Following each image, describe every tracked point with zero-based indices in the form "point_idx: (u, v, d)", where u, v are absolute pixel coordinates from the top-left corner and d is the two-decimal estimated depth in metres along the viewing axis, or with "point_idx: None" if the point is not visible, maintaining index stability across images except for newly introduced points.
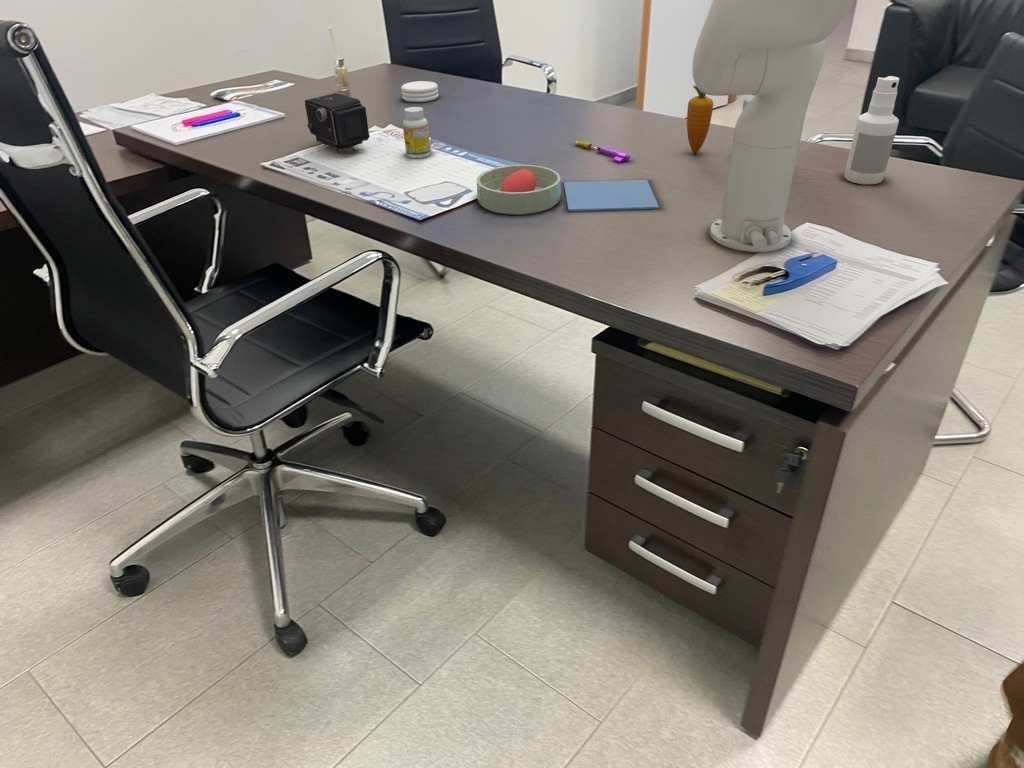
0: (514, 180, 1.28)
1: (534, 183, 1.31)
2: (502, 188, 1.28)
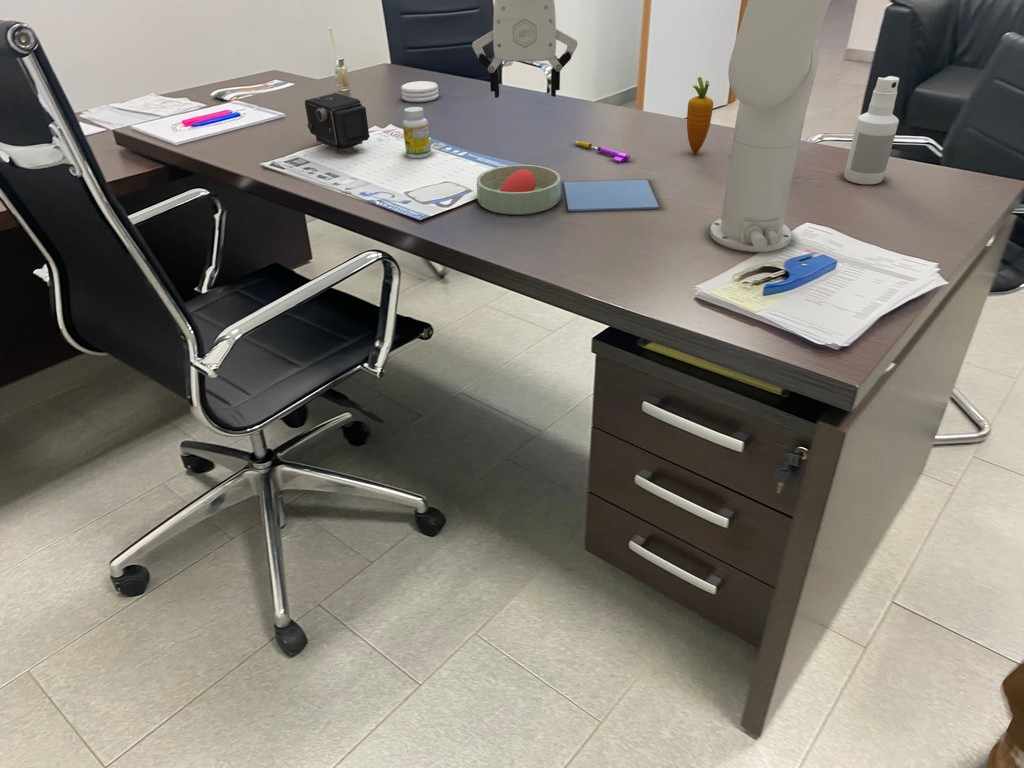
0: (514, 180, 1.28)
1: (534, 183, 1.31)
2: (502, 188, 1.28)
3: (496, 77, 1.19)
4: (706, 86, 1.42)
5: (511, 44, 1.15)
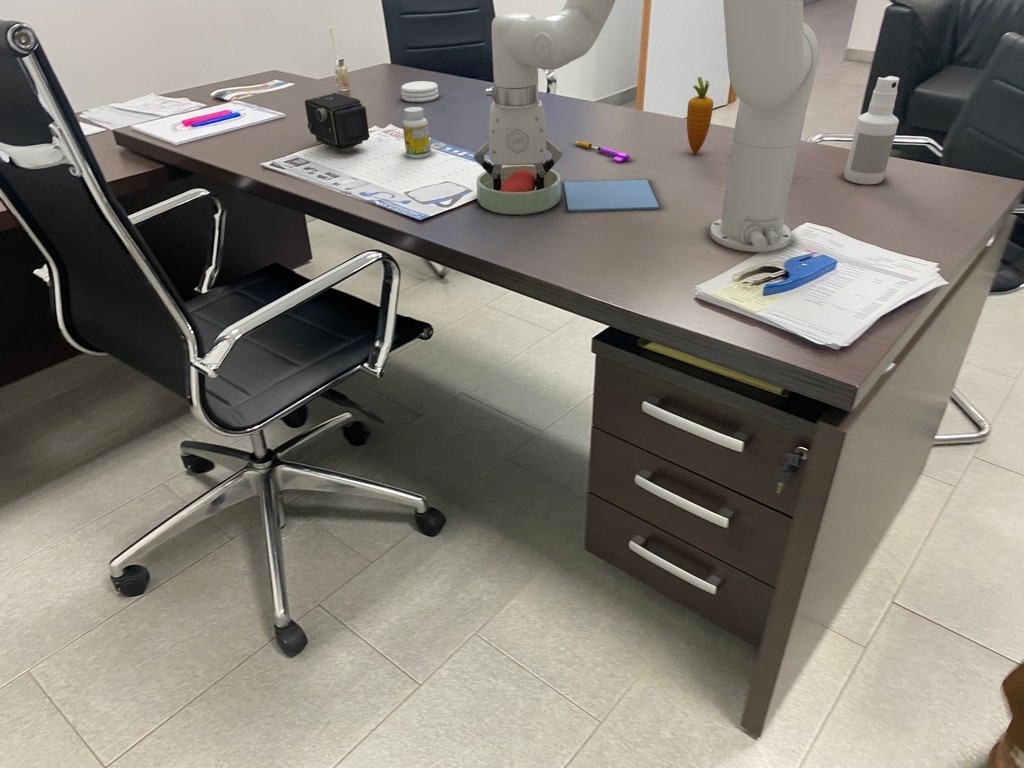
0: (514, 180, 1.28)
1: (534, 183, 1.31)
2: (502, 188, 1.28)
3: (499, 182, 1.29)
4: (706, 86, 1.42)
5: (505, 151, 1.25)
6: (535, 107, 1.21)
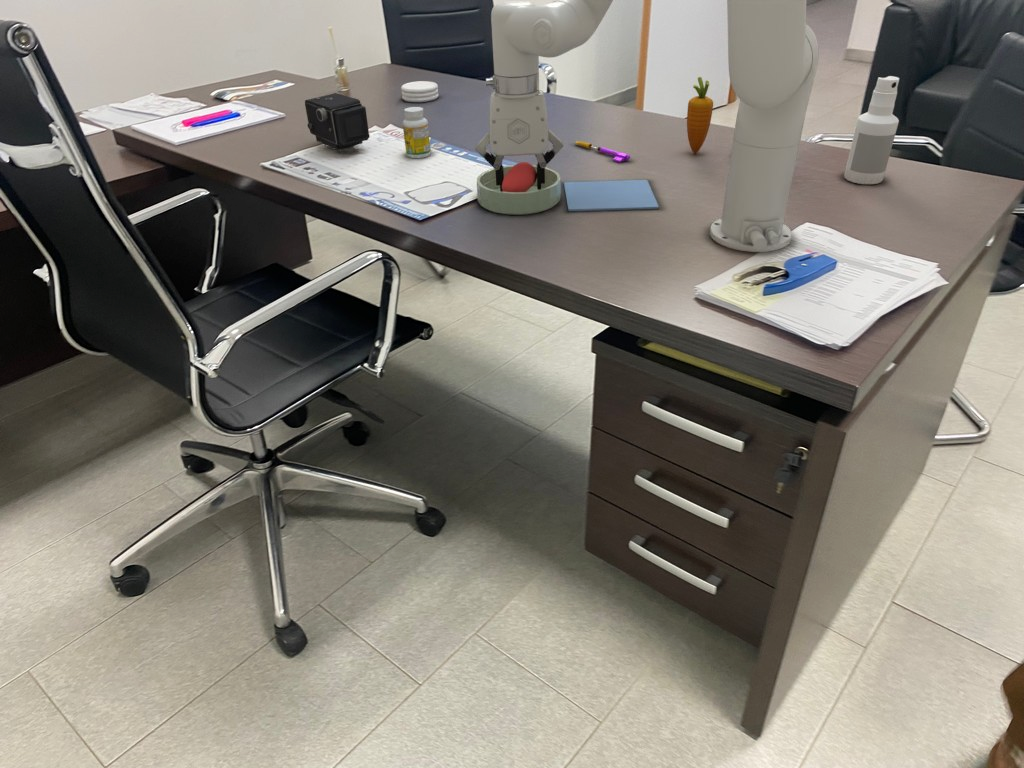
0: (516, 173, 1.27)
1: (535, 175, 1.30)
2: (504, 182, 1.27)
3: (501, 174, 1.28)
4: (706, 86, 1.42)
5: (506, 141, 1.24)
6: (536, 96, 1.20)
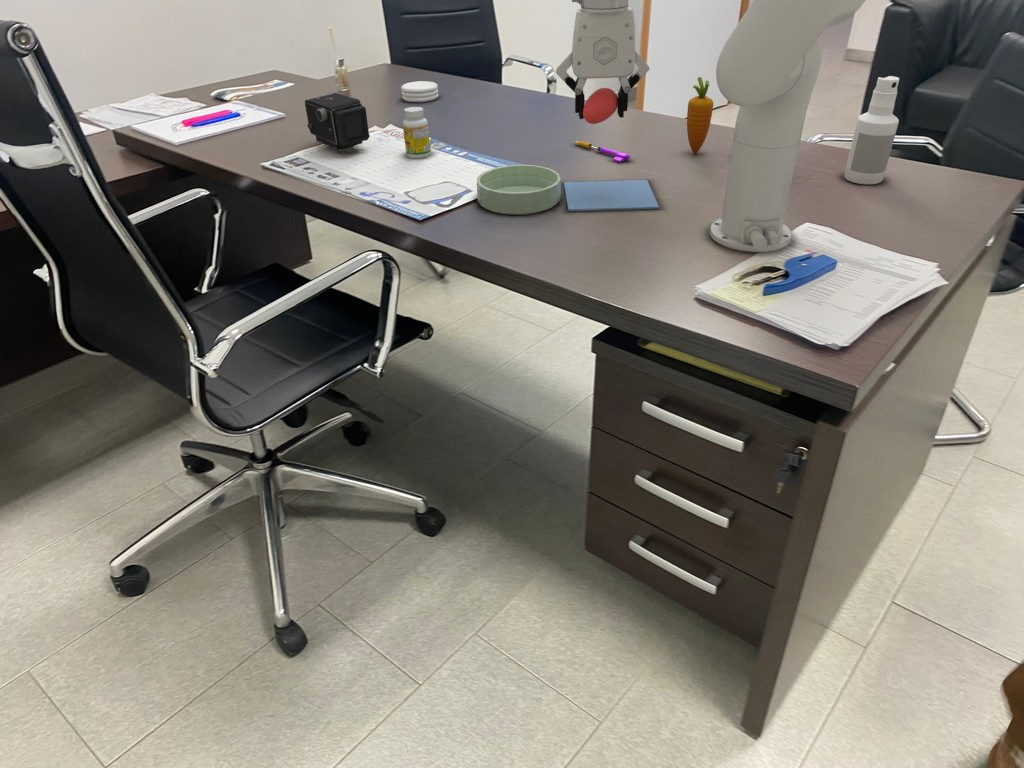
0: (599, 98, 1.20)
1: (617, 101, 1.23)
2: (587, 107, 1.20)
3: (582, 99, 1.21)
4: (706, 86, 1.42)
5: (591, 61, 1.17)
6: (626, 11, 1.13)
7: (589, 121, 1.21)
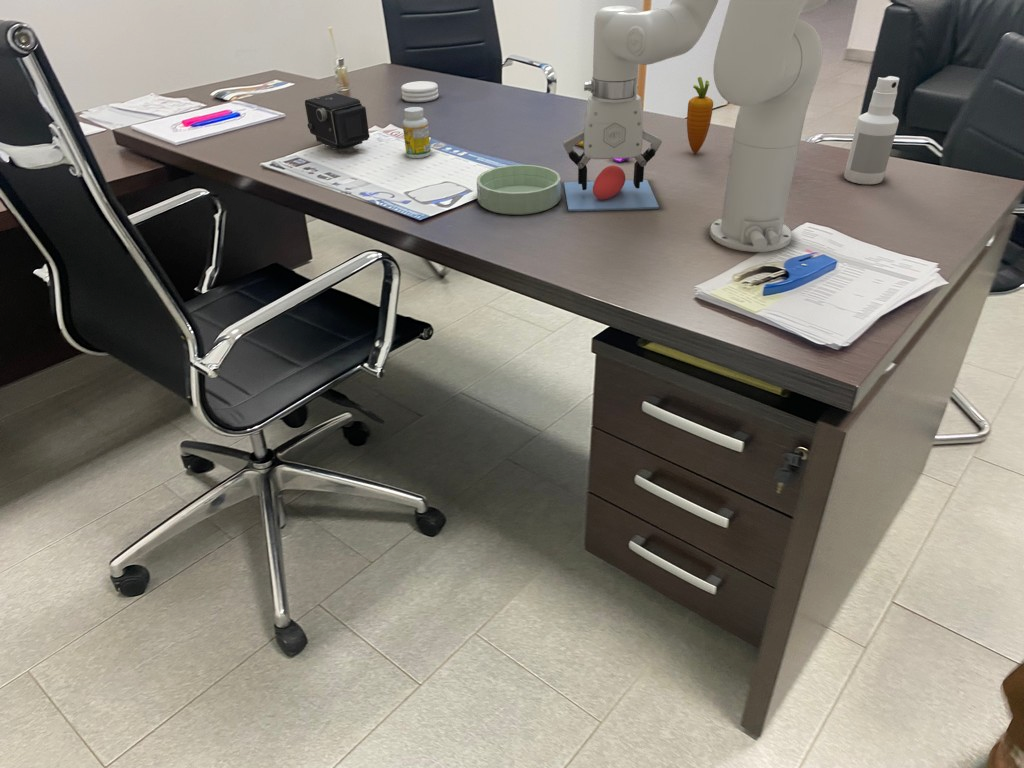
0: (609, 177, 1.28)
1: None
2: (597, 185, 1.28)
3: (585, 172, 1.29)
4: (706, 86, 1.42)
5: (601, 144, 1.25)
6: (634, 100, 1.21)
7: (598, 197, 1.29)
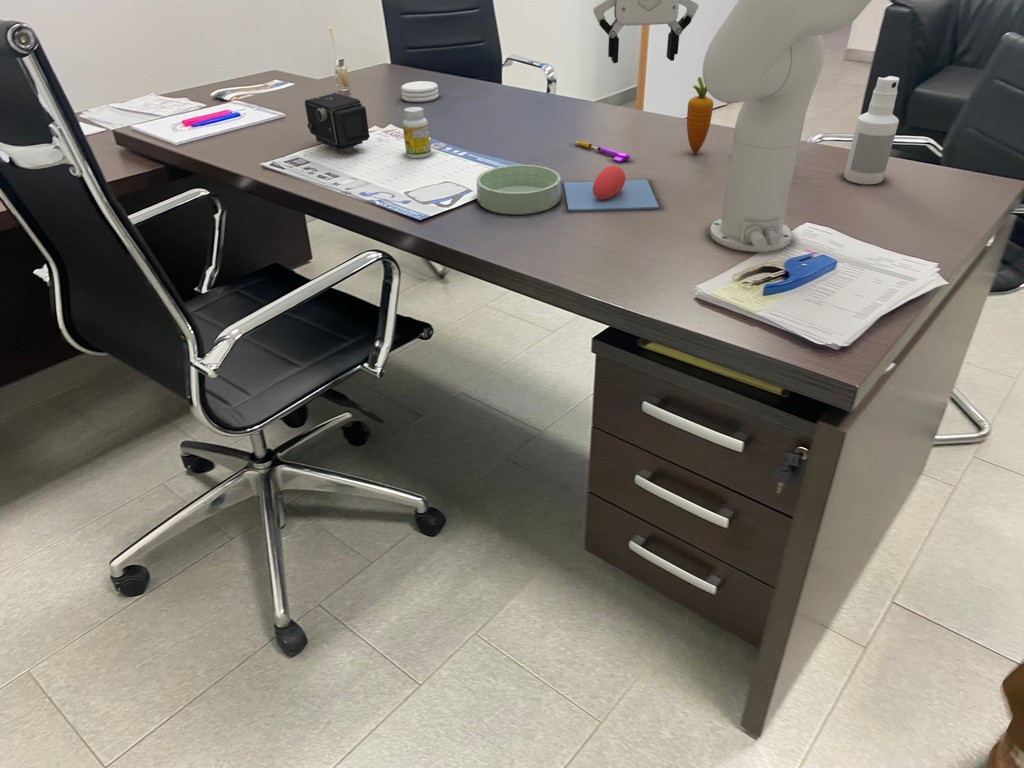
0: (609, 177, 1.28)
1: None
2: (597, 185, 1.28)
3: (617, 42, 1.21)
4: None
5: (635, 7, 1.17)
6: None
7: (598, 197, 1.29)
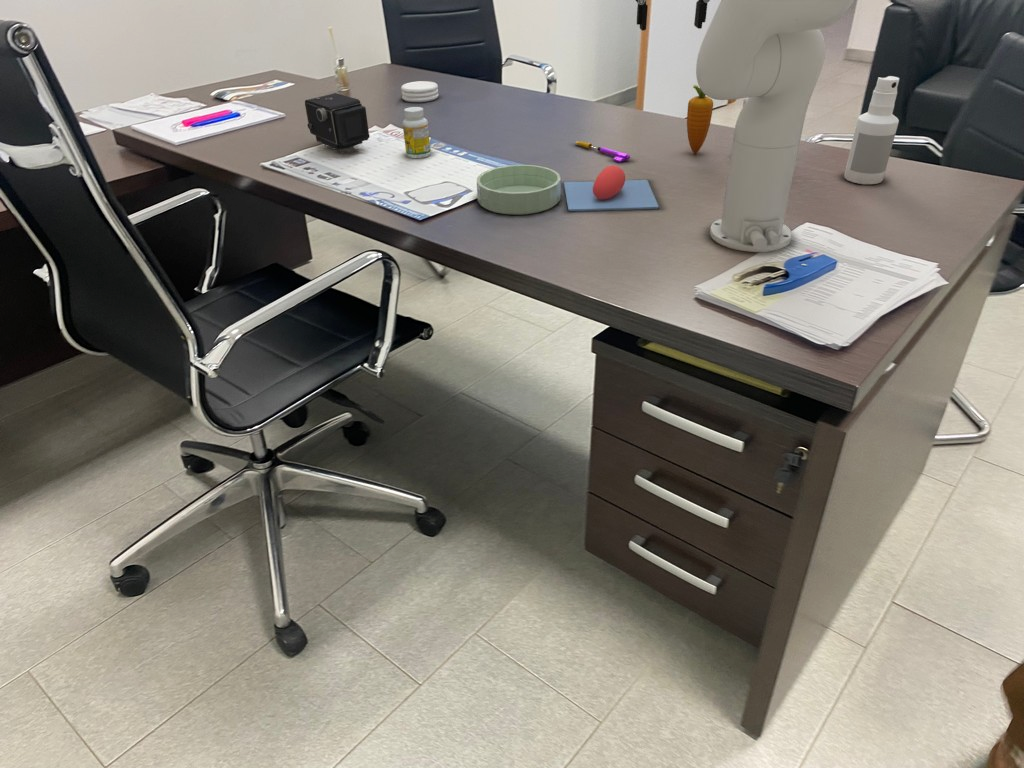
0: (609, 177, 1.28)
1: None
2: (597, 185, 1.28)
3: (645, 9, 1.23)
4: None
5: None
6: None
7: (598, 197, 1.29)
